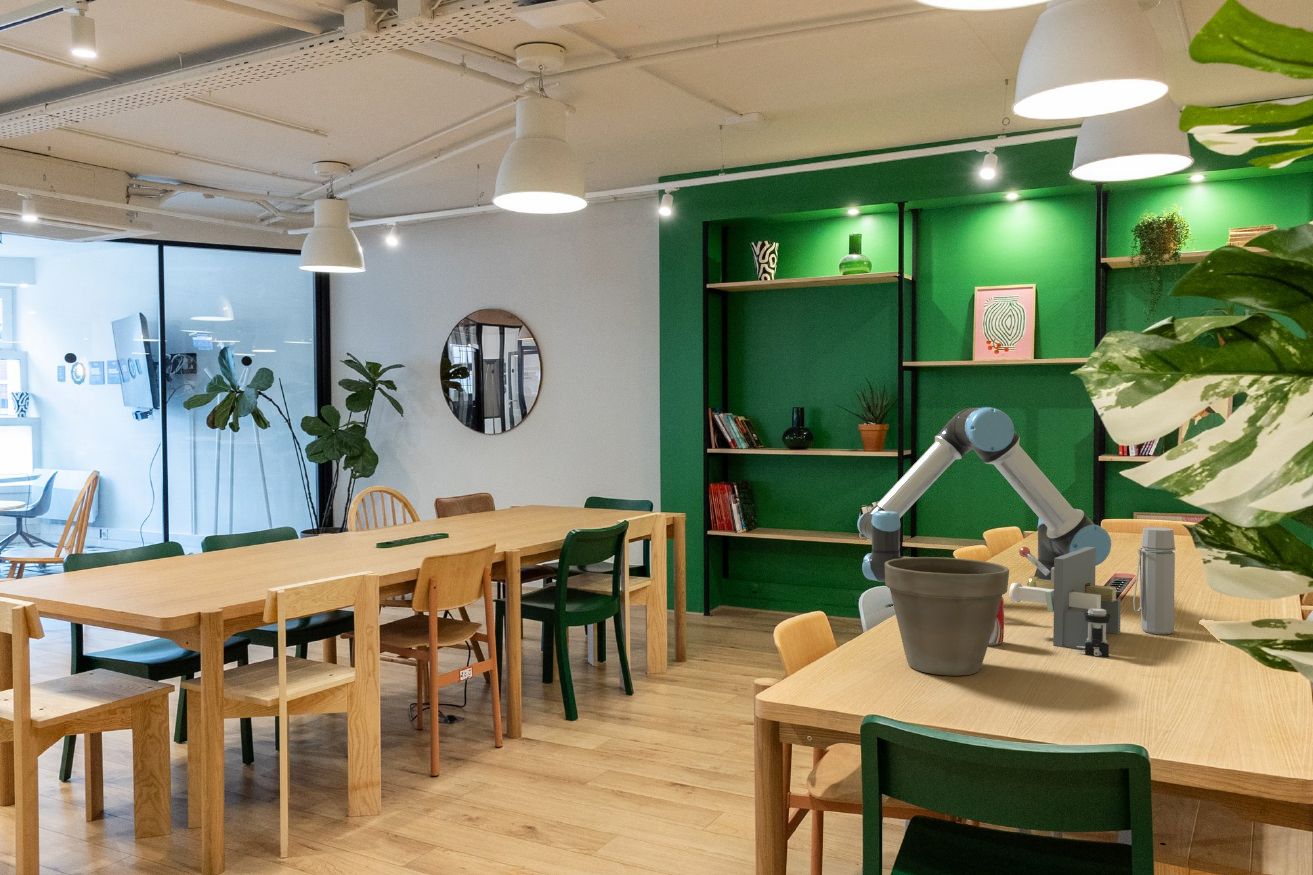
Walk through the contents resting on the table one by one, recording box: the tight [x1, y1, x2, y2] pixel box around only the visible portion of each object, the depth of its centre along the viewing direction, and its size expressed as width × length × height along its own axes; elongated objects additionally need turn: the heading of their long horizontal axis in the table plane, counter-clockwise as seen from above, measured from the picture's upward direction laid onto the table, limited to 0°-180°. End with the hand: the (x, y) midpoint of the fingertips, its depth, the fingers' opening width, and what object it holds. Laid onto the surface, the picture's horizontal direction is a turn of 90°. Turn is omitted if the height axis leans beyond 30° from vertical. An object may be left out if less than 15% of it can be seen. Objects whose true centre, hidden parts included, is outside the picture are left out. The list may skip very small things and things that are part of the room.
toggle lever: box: [1018, 546, 1050, 576], centre depth 227 cm, size 2×7×6 cm, turn 50°
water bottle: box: [1132, 526, 1176, 636], centre depth 236 cm, size 9×8×25 cm
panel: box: [1051, 547, 1122, 651], centre depth 230 cm, size 24×9×20 cm, turn 140°
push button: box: [1076, 608, 1111, 658], centre depth 215 cm, size 7×5×10 cm
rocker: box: [1045, 590, 1054, 612], centre depth 225 cm, size 3×1×4 cm, turn 140°
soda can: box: [988, 596, 1005, 647], centre depth 225 cm, size 7×7×12 cm
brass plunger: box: [1026, 575, 1117, 602], centre depth 238 cm, size 4×20×4 cm, turn 50°
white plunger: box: [1008, 582, 1101, 609], centre depth 228 cm, size 4×20×4 cm, turn 50°
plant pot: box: [884, 556, 1010, 677], centre depth 204 cm, size 25×25×22 cm
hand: (1005, 582), depth 248 cm, fingers closed
